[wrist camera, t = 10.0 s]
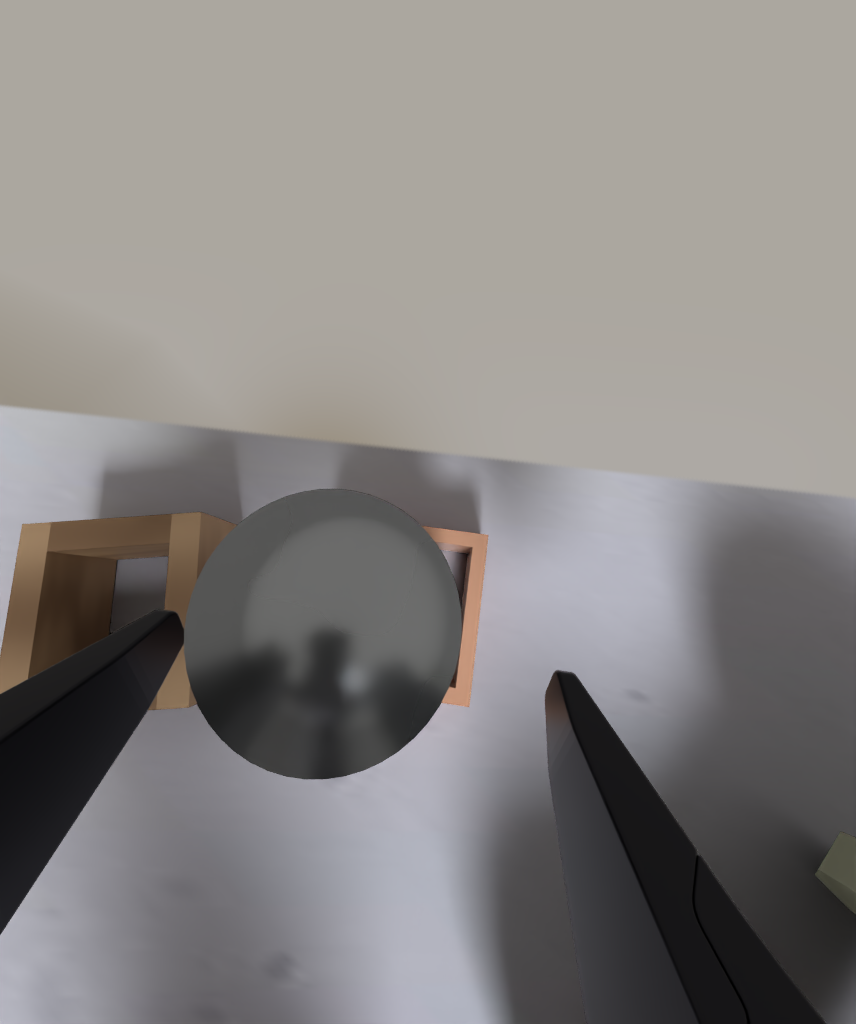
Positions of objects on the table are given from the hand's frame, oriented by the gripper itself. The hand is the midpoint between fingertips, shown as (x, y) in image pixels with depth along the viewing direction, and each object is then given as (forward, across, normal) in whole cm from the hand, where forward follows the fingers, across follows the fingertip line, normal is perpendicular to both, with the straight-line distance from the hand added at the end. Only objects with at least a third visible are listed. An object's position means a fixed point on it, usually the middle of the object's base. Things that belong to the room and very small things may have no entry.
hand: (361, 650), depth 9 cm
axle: (+7, 0, +6) cm, 9 cm away
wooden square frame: (+6, +11, +7) cm, 15 cm away
